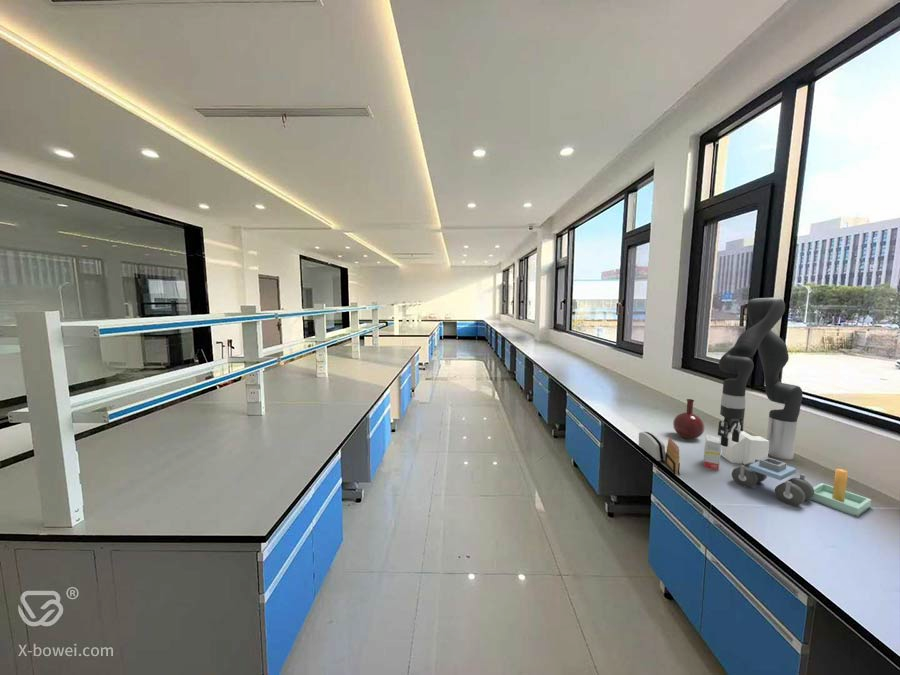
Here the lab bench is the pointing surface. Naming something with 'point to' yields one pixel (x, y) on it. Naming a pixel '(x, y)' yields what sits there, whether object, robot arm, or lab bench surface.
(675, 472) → the ammunition clip
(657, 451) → the white rounded slab
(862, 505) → the tray
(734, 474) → the trolley
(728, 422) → the robot arm
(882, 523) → the lab bench surface
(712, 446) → the ink box
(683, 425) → the round-bottom flask
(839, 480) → the pin
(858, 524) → the lab bench surface
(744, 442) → the white faceted lump
